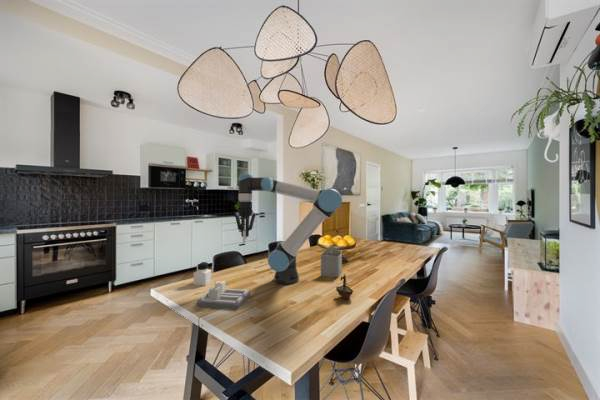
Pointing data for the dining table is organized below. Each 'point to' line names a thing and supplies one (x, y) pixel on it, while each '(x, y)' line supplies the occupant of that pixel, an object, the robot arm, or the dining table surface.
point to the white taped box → (221, 285)
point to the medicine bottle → (202, 274)
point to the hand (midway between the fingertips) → (245, 242)
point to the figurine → (344, 289)
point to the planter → (331, 262)
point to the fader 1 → (215, 293)
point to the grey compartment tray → (225, 299)
